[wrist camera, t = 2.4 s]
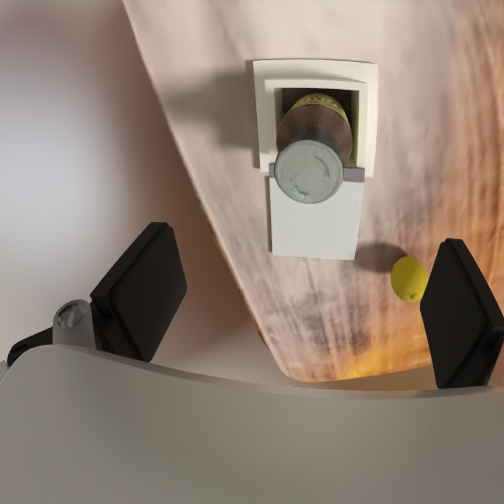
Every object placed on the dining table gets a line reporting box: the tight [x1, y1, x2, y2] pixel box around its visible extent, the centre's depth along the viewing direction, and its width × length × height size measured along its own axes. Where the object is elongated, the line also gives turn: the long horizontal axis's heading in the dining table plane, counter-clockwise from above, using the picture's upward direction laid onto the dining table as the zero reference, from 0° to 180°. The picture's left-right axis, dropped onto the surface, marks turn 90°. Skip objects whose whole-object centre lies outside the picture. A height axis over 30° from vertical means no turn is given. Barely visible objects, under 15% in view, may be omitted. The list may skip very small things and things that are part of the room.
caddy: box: [253, 59, 378, 181], centre depth 29 cm, size 14×14×8 cm
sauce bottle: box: [274, 93, 353, 204], centre depth 24 cm, size 6×6×20 cm
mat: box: [269, 177, 364, 260], centre depth 39 cm, size 12×12×1 cm
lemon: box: [391, 256, 428, 302], centre depth 37 cm, size 6×6×8 cm
